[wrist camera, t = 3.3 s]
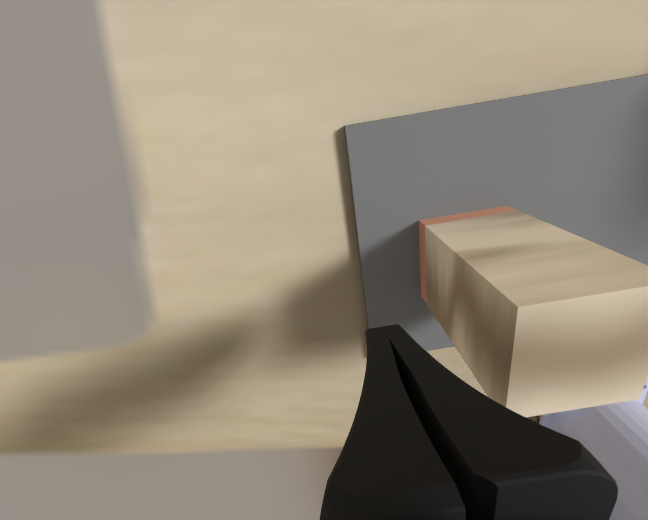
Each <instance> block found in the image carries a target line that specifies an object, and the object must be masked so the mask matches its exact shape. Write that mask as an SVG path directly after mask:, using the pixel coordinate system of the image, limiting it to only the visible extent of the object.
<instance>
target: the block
mask: <svg viewBox="0 0 648 520" xmlns="http://www.w3.org/2000/svg"><path fill="white" fill-rule="evenodd" d="M419 243H420V276H421V296H422V298H423V299H424V301H425V302H426V304H427V305H428V307H429V308H430V310H431V311H432V313H433V314H434V316H435V317H436V319H437V320H438V322H439V323H440V325H441V326H442V328H443V329H444V331H445V332H446V334H447V335H448V337H449V338H450V340H451V341H452V343H453V344H454V346H455V347H456V349H457V350H458V352H459V353H460V355H461V356H462V358H463V359H464V361H465V362H466V364H467V365H468V367H469V368H470V370H471V371H472V373H473V374H474V376H475V377H476V379H477V380H478V382H479V383H480V385H481V386H482V388H483V389H484V391H485V392H486V394H487V395H488V397H489V398H490V399H492V400H494V401H496V402H497V403H499V404H501V405H503V406H504V407H506V408H508V409H510V410H512V411H514V412H516V413H518V414H520V415H522V416H524V417H531V416H538V415H544V414H550V413H556V412H563V411H569V410H575V409H581V408H588V407H594V406H600V405H606V404H613V403H619V402H625V401H631V400H638V399H640V397H641V394H642V391H643V389H644V386H645V383H646V380H647V378H648V265H646V264H643V263H641V262H639V261H636V260H634V259H631V258H629V257H627V256H624V255H622V254H620V253H617V252H615V251H613V250H610V249H608V248H605V247H603V246H601V245H598V244H596V243H594V242H591V241H589V240H587V239H584V238H582V237H580V236H577V235H575V234H572V233H570V232H568V231H565V230H563V229H561V228H558V227H556V226H554V225H551V224H549V223H546V222H544V221H542V220H539V219H537V218H535V217H532V216H530V215H528V214H525V213H523V212H520V211H518V210H516V209H513V208H511V207H509V206H502V207H496V208H490V209H484V210H478V211H472V212H466V213H460V214H454V215H448V216H442V217H436V218H430V219H424V220H419Z"/></svg>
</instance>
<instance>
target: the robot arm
mask: <svg viewBox="0 0 648 520" xmlns="http://www.w3.org/2000/svg"><path fill="white" fill-rule="evenodd" d="M365 334H366V342H367V364H366V372H365V378H364V384H363V389H362V393H361V398H360V401H359V405H358V409H357V412H356V415H355V418H354V421H353V424H352V427H351V430H350V432H349V435H348V437H347V440H346V442H345V445H344V447H343V449H342V452H341V454H340V456H339V458H338V460H337V462H336V464H335V466H334V468H333V470H332V472H331V475H330V476H329V478H328V481H327V485H326V489H325V494H324V499H323V504H322V509H321V515H320V520H648V409H647V408H646V407H645V406H643V405H642V404H643V401H644V398H645V396H646V393H647V390H648V378H647V380H646V383H645V386H644V389H643V391H642V394H641V397H640V399H638V400H631V401H625V402H619V403H613V404H606V405H600V406H594V407H588V408H581V409H575V410H569V411H563V412H556V413H550V414H544V415H540V421H539V424H538V423H536V422H534V421H532V420H530V419H528V418H526V417H524V416H522V415H520V414H518V413H516V412H514V411H512V410H510V409H508V408H506V407H504V406H503V405H501V404H499V403H497V402H496V401H494V400H492V399H490V398H489V397H487V396H485V395H484V394H482V393H480V392H479V391H477V390H476V389H474V388H473V387H471V386H470V385H468V384H467V383H465V382H464V381H462V380H461V379H460V378H458V377H457V376H456V375H454V374H453V373H452V372H450V371H449V370H448V369H447V368H445V367H444V366H443V365H442V364H440V363H439V362H438V361H437V360H436V359H434V358H433V357H432V356H431V355H430V354H429V353H428V352H427V351H425V350H424V349H423V348H422V347H421V346H420V345H419V344H418V343H417V342H416V341H415V340H414V339H413V338H412V337H411V336H410V335H409V334H408V333H407V332H406V331H405V330H404V329H403V328H402V327H401V326H400V325H399V324H395V325H389V326H383V327H376V328H370V329H367V330H366V331H365Z"/></svg>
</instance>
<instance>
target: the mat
mask: <svg viewBox="0 0 648 520" xmlns="http://www.w3.org/2000/svg"><path fill="white" fill-rule="evenodd" d="M344 129H345V137H346V146H347V154H348V163H349V171H350V179H351V188H352V196H353V205H354V213H355V222H356V230H357V239H358V247H359V256H360V264H361V273H362V281H363V290H364V298H365V307H366V315H367V323H368V329H370V328H376V327H383V326H389V325H395V324H399V325H400V326H401V327H402V328H403V329H404V330H405V331H406V332H407V333H408V334H409V335H410V336H411V337H412V338H413V339H414V340H415V341H416V342H417V343H418V344H419V345H420V346H421V347H422V348H423V349H424V350H425V351H428V350H435V349H441V348H447V347H453V346H454V344H453V343H452V341H451V340H450V338H449V337H448V335H447V334H446V332H445V331H444V329H443V328H442V326H441V325H440V323H439V322H438V320H437V319H436V317H435V316H434V314H433V313H432V311H431V310H430V308H429V307H428V305H427V304H426V302H425V301H424V299H423V298H422V296H421V276H420V243H419V220H424V219H430V218H436V217H442V216H448V215H454V214H460V213H466V212H472V211H478V210H484V209H490V208H496V207H502V206H509V207H511V208H513V209H516V210H518V211H520V212H523V213H525V214H528V215H530V216H532V217H535V218H537V219H539V220H542V221H544V222H546V223H549V224H551V225H554V226H556V227H558V228H561V229H563V230H565V231H568V232H570V233H572V234H575V235H577V236H580V237H582V238H584V239H587V240H589V241H591V242H594V243H596V244H598V245H601V246H603V247H605V248H608V249H610V250H613V251H615V252H617V253H620V254H622V255H624V256H627V257H629V258H631V259H634V260H636V261H639V262H641V263H643V264H646V265H648V74H646V75H640V76H634V77H628V78H622V79H617V80H611V81H605V82H599V83H593V84H587V85H581V86H575V87H570V88H564V89H558V90H552V91H546V92H540V93H534V94H528V95H523V96H517V97H511V98H505V99H499V100H493V101H487V102H481V103H476V104H470V105H464V106H458V107H452V108H446V109H440V110H434V111H429V112H423V113H417V114H411V115H405V116H399V117H393V118H387V119H382V120H376V121H370V122H364V123H358V124H352V125H346V126H344Z"/></svg>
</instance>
